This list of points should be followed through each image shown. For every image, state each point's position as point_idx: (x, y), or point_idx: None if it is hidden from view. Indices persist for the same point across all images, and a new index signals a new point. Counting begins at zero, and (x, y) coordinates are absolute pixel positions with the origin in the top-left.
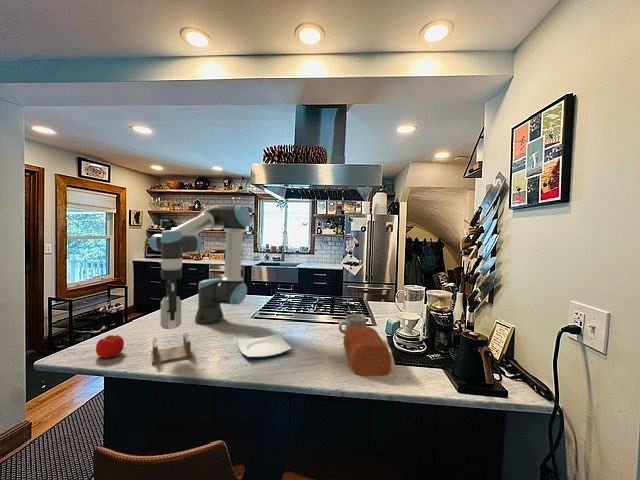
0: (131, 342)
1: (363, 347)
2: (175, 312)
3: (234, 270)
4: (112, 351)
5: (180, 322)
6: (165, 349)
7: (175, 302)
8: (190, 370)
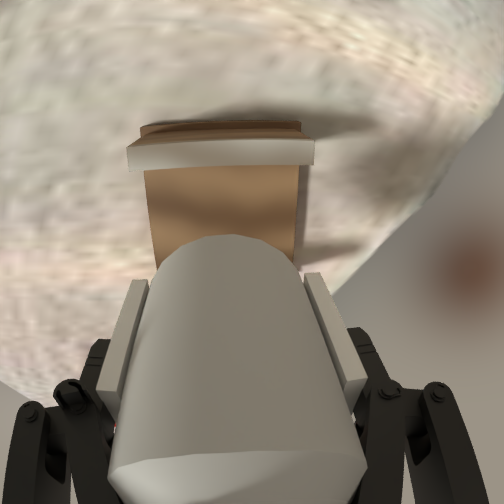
0: (41, 332)
1: None
2: (362, 373)
3: None
4: None
5: (266, 250)
6: (165, 233)
7: (472, 462)
8: (415, 153)
